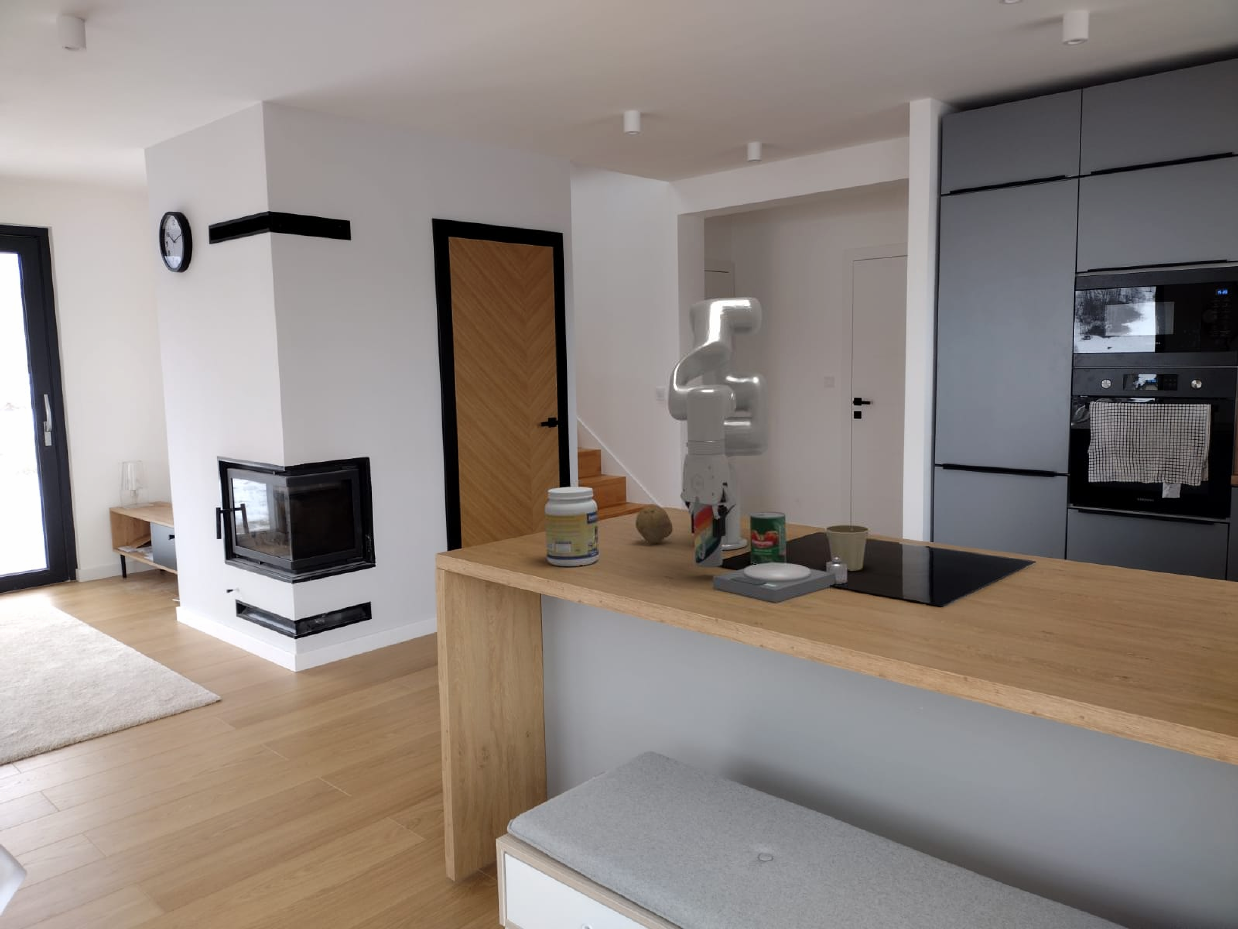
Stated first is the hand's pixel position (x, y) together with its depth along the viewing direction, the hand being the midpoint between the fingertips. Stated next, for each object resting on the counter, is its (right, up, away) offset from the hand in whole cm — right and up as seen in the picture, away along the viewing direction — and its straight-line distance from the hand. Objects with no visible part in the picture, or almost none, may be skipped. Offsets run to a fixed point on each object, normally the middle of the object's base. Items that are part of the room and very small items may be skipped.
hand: (708, 533), depth 183 cm
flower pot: (+30, -8, +6) cm, 32 cm away
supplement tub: (-29, -8, +21) cm, 37 cm away
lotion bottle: (0, -7, +1) cm, 7 cm away
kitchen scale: (+12, -10, -8) cm, 18 cm away
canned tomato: (+15, -8, +14) cm, 22 cm away
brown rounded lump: (-10, -6, +40) cm, 41 cm away
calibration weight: (+25, -9, -6) cm, 28 cm away
